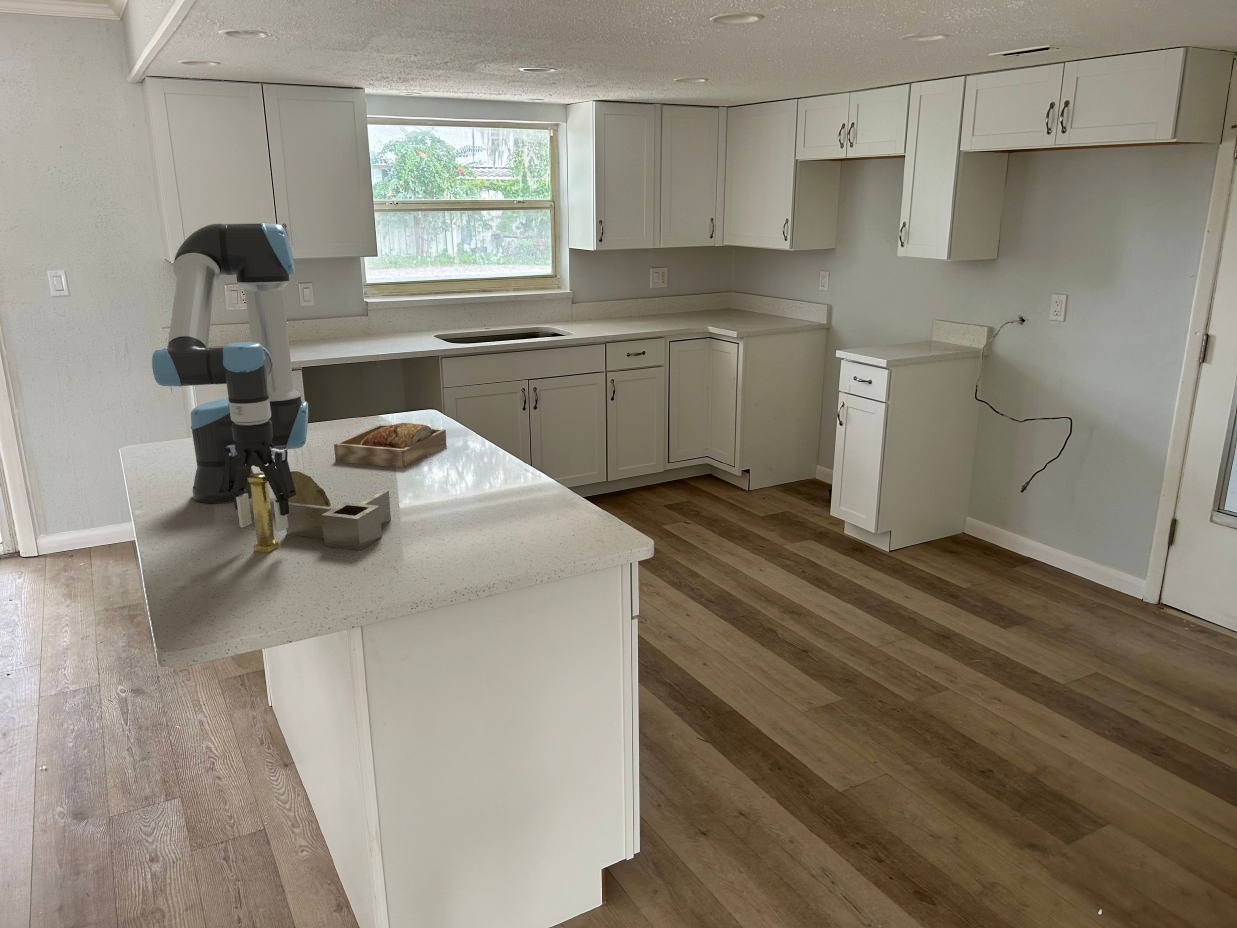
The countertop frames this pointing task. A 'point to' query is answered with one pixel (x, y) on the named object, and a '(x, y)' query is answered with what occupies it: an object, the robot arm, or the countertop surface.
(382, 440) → the bread
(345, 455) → the bread crate
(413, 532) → the countertop surface
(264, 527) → the hinge pin
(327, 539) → the hinge
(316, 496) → the rock
